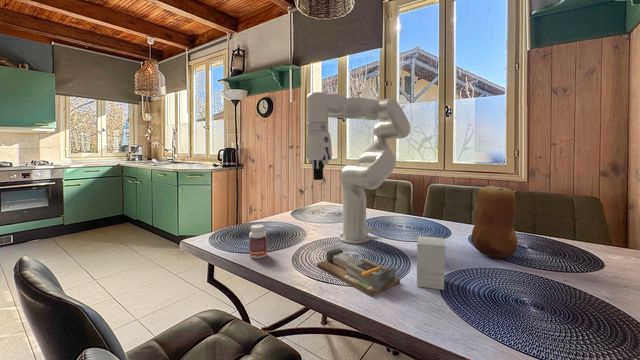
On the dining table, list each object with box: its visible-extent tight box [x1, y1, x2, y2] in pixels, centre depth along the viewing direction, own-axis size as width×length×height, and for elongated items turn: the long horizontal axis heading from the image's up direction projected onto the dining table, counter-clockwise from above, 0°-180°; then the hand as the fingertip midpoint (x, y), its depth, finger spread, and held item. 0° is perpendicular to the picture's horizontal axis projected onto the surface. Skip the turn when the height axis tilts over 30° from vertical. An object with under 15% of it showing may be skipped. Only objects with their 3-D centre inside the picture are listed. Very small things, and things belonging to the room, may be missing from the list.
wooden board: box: [316, 258, 401, 297], centre depth 91 cm, size 12×24×5 cm, turn 37°
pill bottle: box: [248, 224, 268, 259], centre depth 107 cm, size 6×6×11 cm
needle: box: [361, 267, 382, 276], centre depth 83 cm, size 8×2×4 cm, turn 127°
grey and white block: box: [326, 248, 365, 270], centre depth 95 cm, size 5×13×3 cm, turn 37°
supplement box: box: [416, 235, 447, 291], centre depth 85 cm, size 7×7×13 cm
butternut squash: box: [470, 185, 518, 260], centre depth 103 cm, size 14×13×25 cm
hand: (318, 179), depth 108 cm, fingers closed
